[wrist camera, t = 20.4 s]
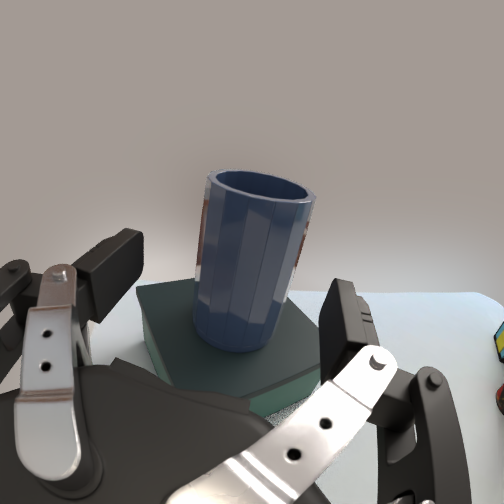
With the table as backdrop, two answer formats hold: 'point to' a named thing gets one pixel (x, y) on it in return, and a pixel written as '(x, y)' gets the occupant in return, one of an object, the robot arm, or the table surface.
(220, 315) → the cup
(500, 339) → the carton
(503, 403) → the deodorant
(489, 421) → the table surface
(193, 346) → the container
